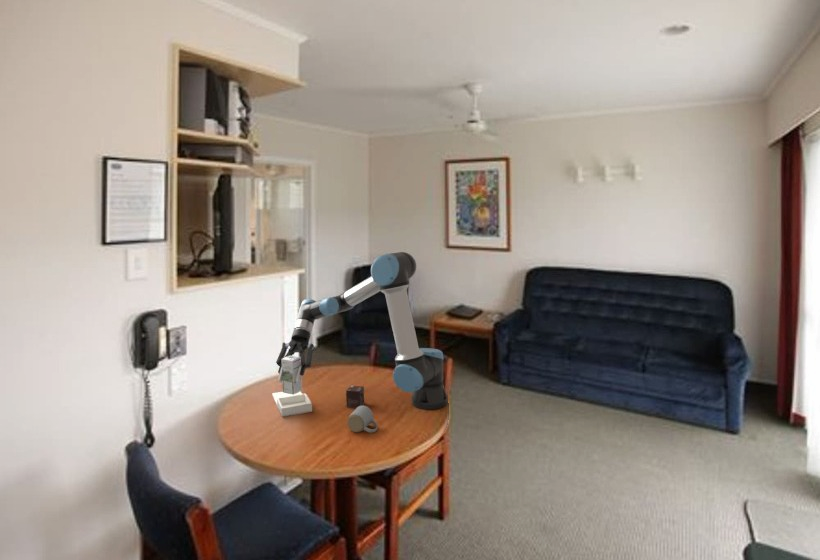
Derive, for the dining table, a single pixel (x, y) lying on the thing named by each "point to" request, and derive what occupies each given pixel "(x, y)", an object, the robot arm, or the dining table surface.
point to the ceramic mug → (361, 420)
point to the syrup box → (291, 374)
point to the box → (355, 396)
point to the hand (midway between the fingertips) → (288, 381)
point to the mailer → (292, 403)
